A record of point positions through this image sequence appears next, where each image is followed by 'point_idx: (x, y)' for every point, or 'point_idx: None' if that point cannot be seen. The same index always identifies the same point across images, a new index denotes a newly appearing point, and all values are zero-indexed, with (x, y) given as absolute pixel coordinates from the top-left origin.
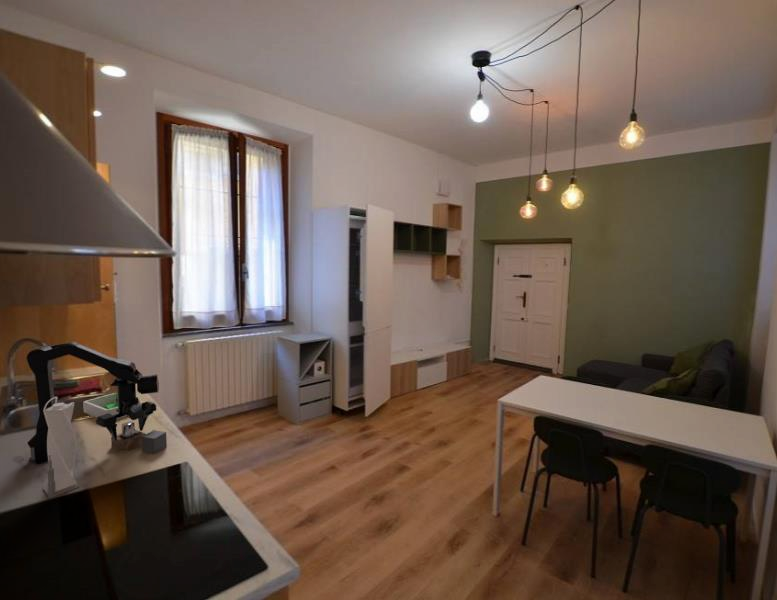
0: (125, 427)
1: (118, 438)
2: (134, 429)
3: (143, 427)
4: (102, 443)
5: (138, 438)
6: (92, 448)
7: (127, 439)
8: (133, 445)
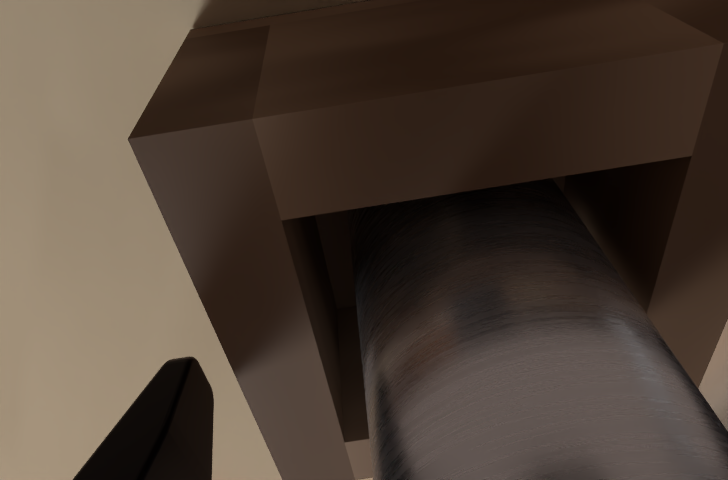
0: None
1: (690, 314)
2: (401, 403)
3: (118, 422)
4: None
5: (360, 77)
6: (701, 382)
7: (657, 127)
8: (475, 5)
